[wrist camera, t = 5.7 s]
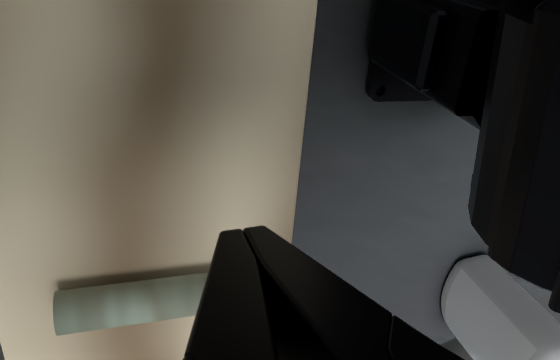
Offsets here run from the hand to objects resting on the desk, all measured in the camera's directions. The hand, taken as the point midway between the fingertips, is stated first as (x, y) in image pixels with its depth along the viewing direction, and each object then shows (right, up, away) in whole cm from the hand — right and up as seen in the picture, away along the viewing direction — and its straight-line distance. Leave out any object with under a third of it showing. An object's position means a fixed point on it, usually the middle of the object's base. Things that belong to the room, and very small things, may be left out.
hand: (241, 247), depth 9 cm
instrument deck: (-4, 0, +8) cm, 9 cm away
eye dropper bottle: (+12, -5, +22) cm, 26 cm away
